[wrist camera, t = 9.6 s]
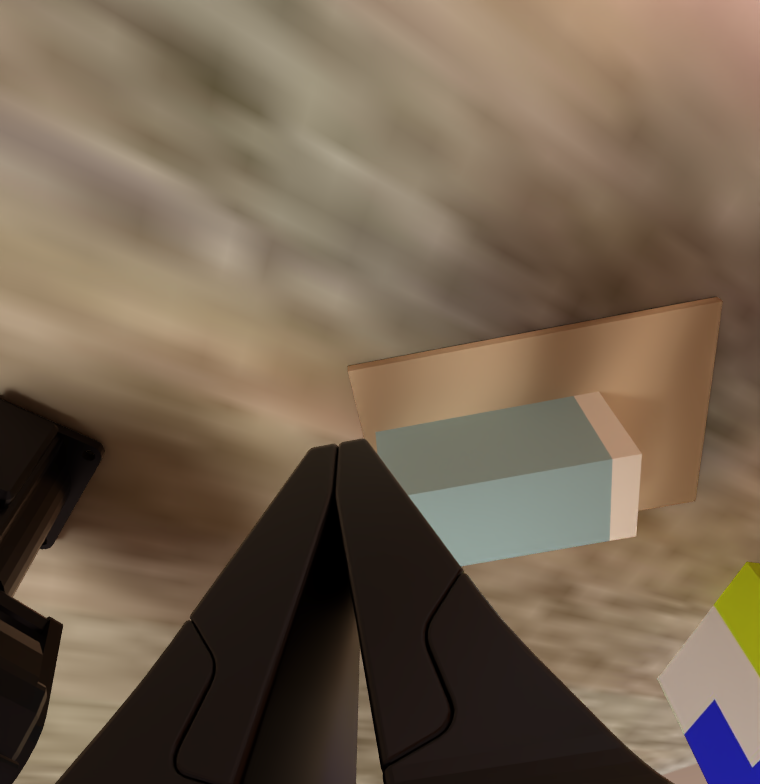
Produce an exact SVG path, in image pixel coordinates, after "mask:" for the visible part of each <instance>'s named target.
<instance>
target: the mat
mask: <svg viewBox="0 0 760 784" xmlns="http://www.w3.org/2000/svg"><path fill="white" fill-rule="evenodd" d="M722 303H723V301H722V300H721V299H719V298H718V297H713V298H708V299H702V300H697V301H692V302H687V303H681V304H676V305H671V306H665V307H660V308H655V309H649V310H644V311H639V312H633V313H628V314H623V315H617V316H612V317H607V318H601V319H596V320H591V321H585V322H580V323H575V324H569V325H564V326H559V327H553V328H548V329H543V330H537V331H532V332H527V333H521V334H516V335H511V336H505V337H500V338H495V339H489V340H484V341H479V342H474V343H468V344H463V345H458V346H452V347H447V348H442V349H436V350H431V351H426V352H420V353H415V354H410V355H404V356H399V357H394V358H388V359H383V360H378V361H372V362H367V363H362V364H356V365H351V366H348V374H349V378H350V382H351V387H352V391H353V395H354V399H355V403H356V407H357V411H358V415H359V419H360V423H361V428H362V432H363V436H364V439H366V440H367V441H368V442H369V443H370V445H371V446H372V447H373V449H374V450H375V451H376V453H377V444H376V433H375V432H379V431H385V430H390V429H396V428H401V427H406V426H412V425H417V424H423V423H428V422H434V421H439V420H445V419H450V418H456V417H461V416H467V415H472V414H478V413H483V412H489V411H494V410H500V409H505V408H511V407H516V406H522V405H527V404H533V403H538V402H544V401H549V400H554V399H560V398H565V397H571V396H576V395H582V394H587V393H593V392H598V391H599V392H600V394H601V395H602V397H603V398H604V400H605V401H606V403H607V404H608V405H609V407H610V408H611V410H612V411H613V413H614V414H615V416H616V417H617V419H618V420H619V421H620V423H621V424H622V426H623V427H624V429H625V430H626V432H627V433H628V434H629V436H630V437H631V439H632V440H633V442H634V443H635V445H636V446H637V447H638V449H639V450H640V452H641V453H642V460H641V474H640V489H639V503H638V511H641V510H646V509H652V508H658V507H664V506H669V505H675V504H681V503H687V502H693V501H695V499H696V492H697V485H698V477H699V470H700V463H701V456H702V448H703V441H704V434H705V427H706V419H707V412H708V405H709V397H710V390H711V383H712V376H713V368H714V361H715V354H716V346H717V339H718V332H719V325H720V317H721V310H722Z"/></svg>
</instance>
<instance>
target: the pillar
mask: <svg viewBox="0 0 760 784" xmlns="http://www.w3.org/2000/svg"><path fill="white" fill-rule="evenodd" d="M375 433H376V444H377V454H378V455H379V457H380V458H381V460H382V461H383V462H384V464H385V465H386V466H387V468H388V469H389V470H390V472H391V473H392V474H393V476H394V477H395V478H396V480H397V481H398V482H399V484H400V485H401V487H402V488H403V489H404V491H405V492H406V493H407V495H408V496H409V497H410V499H411V500H412V501H413V503H414V504H415V505H416V507H417V508H418V509H419V511H420V512H421V513H422V515H423V516H424V518H425V519H426V520H427V522H428V523H429V524H430V526H431V527H432V528H433V530H434V531H435V532H436V534H437V535H438V536H439V538H440V539H441V540H442V542H443V543H444V544H445V546H446V547H447V549H448V550H449V551H450V553H451V554H452V555H453V557H454V558H455V559H456V561H457V562H458V563H459V565H460V566H466V565H472V564H477V563H483V562H489V561H495V560H501V559H507V558H512V557H518V556H524V555H530V554H536V553H542V552H548V551H553V550H559V549H565V548H571V547H577V546H583V545H588V544H594V543H600V542H606V541H612V540H618V539H623V538H629V537H635V536H636V532H637V518H638V503H639V489H640V474H641V460H642V453H641V452H640V450H639V449H638V447H637V446H636V445H635V443H634V442H633V440H632V439H631V437H630V436H629V434H628V433H627V432H626V430H625V429H624V427H623V426H622V424H621V423H620V421H619V420H618V419H617V417H616V416H615V414H614V413H613V411H612V410H611V408H610V407H609V405H608V404H607V403H606V401H605V400H604V398H603V397H602V395H601V394H600V392H599V391H598V392H593V393H587V394H582V395H576V396H571V397H565V398H560V399H554V400H549V401H544V402H538V403H533V404H527V405H522V406H516V407H511V408H505V409H500V410H494V411H489V412H483V413H478V414H472V415H467V416H461V417H456V418H450V419H445V420H439V421H434V422H428V423H423V424H417V425H412V426H406V427H401V428H396V429H390V430H385V431H379V432H375Z"/></svg>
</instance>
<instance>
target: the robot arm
mask: <svg viewBox="0 0 760 784" xmlns="http://www.w3.org/2000/svg"><path fill="white" fill-rule="evenodd" d="M86 450H89V451H92V452H93V453H94V454H89V453H88V452H86ZM104 453H105V449H104V447H103V445H102V444H101V443H99V442H98V441H96V440H94V439H92V438H89V437H87V436H85V435H82V434H80V433H78V432H75V431H73V430H71V429H69V428H66V427H64V426H62V425H59V424H57V423H55V422H53V421H50V420H48V419H46V418H43V417H41V416H39V415H37V414H34V413H32V412H30V411H27V410H25V409H23V408H21V407H18V406H16V405H14V404H11V403H9V402H7V401H4V400H2V399H0V784H12V783H13V782H14V781H15V779H16V778H17V776H18V775H19V773H20V772H21V770H22V769H23V767H24V765H25V764H26V762H27V761H28V759H29V757H30V755H31V753H32V751H33V749H34V748H35V746H36V744H37V741H38V739H39V737H40V734H41V732H42V729H43V726H44V723H45V719H46V715H47V710H48V705H49V699H50V694H51V689H52V683H53V678H54V672H55V667H56V661H57V656H58V651H59V645H60V640H61V634H62V629H63V624H61V623H60V622H58V621H56V620H55V619H53V618H51V617H48V618H46V617H44V616H42V615H41V614H39V613H37V612H36V611H34V610H33V609H31V608H29V607H28V606H26V605H24V604H23V603H21V602H19V601H18V600H16V599H15V598H13V596H14V594H15V592H16V590H17V589H18V587H19V585H20V583H21V581H22V580H23V578H24V576H25V574H26V572H27V571H28V569H29V567H30V565H31V563H32V562H33V560H34V558H35V556H36V554H37V553H38V551H39V549H48V548H50V547H51V546H52V545H53V544H54V542H55V540H56V539H57V537H58V535H59V533H60V531H61V530H62V528H63V526H64V524H65V523H66V521H67V519H68V517H69V516H70V514H71V512H72V510H73V509H74V507H75V505H76V503H77V502H78V500H79V498H80V496H81V495H82V493H83V491H84V489H85V488H86V486H87V484H88V482H89V481H90V479H91V477H92V475H93V474H94V472H95V470H96V468H97V467H98V465H99V463H100V461H101V459H102V458H103V456H104ZM190 619H191V621H190V620H188V621H186V622H185V623H184V625H183V626H182V628H181V629H180V630H179V632H178V633H177V635H176V636H175V637H174V639H173V640H172V642H171V643H170V644H169V646H168V647H167V648H166V650H165V651H164V652H163V654H162V655H161V656H160V658H159V659H158V660H157V662H156V663H155V664H154V666H153V667H152V668H151V669H150V671H149V672H148V673H147V675H146V676H145V677H144V679H143V680H142V681H141V683H140V684H139V685H138V686H137V687H136V689H135V690H134V691H133V692H132V693H131V695H130V696H129V697H128V698H127V700H126V701H125V702H124V703H123V704H122V706H121V707H120V708H119V709H118V710H117V712H116V713H115V714H114V715H113V717H112V718H111V719H110V720H109V721H108V723H107V724H106V725H105V726H104V727H103V728H102V730H101V731H100V732H99V733H98V734H97V735H96V737H95V738H94V739H93V740H92V741H91V742H90V744H89V745H88V746H87V747H86V748H85V749H84V751H83V752H82V753H81V754H80V755H79V756H78V758H77V759H76V760H75V761H74V762H73V763H72V765H71V766H70V767H69V768H68V769H67V770H66V772H65V773H64V774H63V775H62V776H61V777H60V779H59V780H58V781H57V782H56V783H55V784H356V763H357V727H358V692H359V656H360V649H361V654H362V660H363V666H364V672H365V678H366V683H367V689H368V695H369V701H370V707H371V712H372V718H373V724H374V730H375V736H376V742H377V747H378V753H379V759H380V765H381V769H382V772H383V782H384V784H674V783H672V782H671V781H669V780H668V779H666V778H665V777H663V776H662V775H660V774H659V773H658V772H656V771H655V770H654V769H652V768H651V767H650V766H649V765H647V764H646V763H645V762H644V761H642V760H641V759H640V758H639V757H638V756H637V755H636V754H634V753H633V752H632V751H631V750H630V749H629V748H628V747H627V746H625V745H624V744H623V743H622V742H621V741H620V740H619V739H618V738H617V737H616V736H615V735H614V734H613V733H612V732H611V731H610V730H609V729H608V728H607V727H606V726H605V725H604V724H603V723H602V722H601V721H600V720H599V719H598V718H597V717H596V716H595V715H594V714H593V713H592V712H591V711H590V710H589V709H588V708H587V707H586V706H585V705H584V704H583V703H582V702H581V701H580V700H579V699H578V698H577V697H576V696H575V695H574V694H573V693H572V692H571V691H570V690H569V689H568V688H567V687H566V686H565V685H564V684H563V683H562V682H561V681H560V680H559V679H558V678H557V677H556V676H555V675H554V674H553V673H552V672H551V671H550V670H549V669H548V668H547V667H546V666H545V665H544V664H543V663H542V662H541V660H540V659H539V658H538V657H537V656H536V655H535V654H534V653H533V652H532V651H531V650H530V649H529V648H528V647H527V646H526V645H525V644H524V643H523V642H522V641H521V639H520V638H519V637H518V636H517V635H516V634H515V633H514V632H513V631H512V630H511V629H510V628H509V627H508V625H507V624H506V623H505V622H504V621H503V620H502V619H501V617H500V616H499V615H498V614H497V612H496V611H495V610H494V609H493V607H492V606H491V605H490V604H489V602H488V601H487V600H486V599H485V597H484V596H483V595H482V594H481V592H480V591H479V590H478V588H477V587H476V586H475V584H474V583H473V582H472V580H471V579H470V578H469V576H468V575H467V574H465V573H464V570H463V569H462V567H461V566H460V565H459V563H458V562H457V561H456V559H455V558H454V557H453V555H452V554H451V553H450V551H449V550H448V549H447V547H446V546H445V544H444V543H443V542H442V540H441V539H440V538H439V536H438V535H437V534H436V532H435V531H434V530H433V528H432V527H431V526H430V524H429V523H428V522H427V520H426V519H425V518H424V516H423V515H422V513H421V512H420V511H419V509H418V508H417V507H416V505H415V504H414V503H413V501H412V500H411V499H410V497H409V496H408V495H407V493H406V492H405V491H404V489H403V488H402V487H401V485H400V484H399V482H398V481H397V480H396V478H395V477H394V476H393V474H392V473H391V472H390V470H389V469H388V468H387V466H386V465H385V464H384V462H383V461H382V460H381V458H380V457H379V455H378V454H377V453H376V451H375V450H374V449H373V447H372V446H371V445H370V443H369V442H368V441H367V440H366V439H357V440H352V441H346V442H342V443H341V444H340V445H339V447H338V446H337V445H336V444H330V445H324V446H319V447H314V448H311V449H310V450H309V451H308V452H307V454H306V455H305V456H304V458H303V459H302V461H301V462H300V463H299V465H298V466H297V468H296V469H295V470H294V472H293V473H292V474H291V476H290V477H289V479H288V480H287V481H286V483H285V484H284V486H283V487H282V488H281V490H280V491H279V493H278V494H277V495H276V497H275V498H274V500H273V501H272V502H271V504H270V505H269V507H268V508H267V509H266V511H265V512H264V514H263V515H262V516H261V518H260V519H259V521H258V522H257V523H256V525H255V526H254V528H253V529H252V530H251V532H250V533H249V534H248V536H247V537H246V539H245V540H244V541H243V543H242V544H241V546H240V547H239V548H238V550H237V551H236V553H235V554H234V555H233V557H232V558H231V560H230V561H229V562H228V564H227V565H226V567H225V568H224V569H223V571H222V572H221V574H220V575H219V576H218V578H217V579H216V581H215V582H214V583H213V585H212V586H211V587H210V589H209V590H208V592H207V593H206V594H205V596H204V597H203V599H202V600H201V601H200V603H199V604H198V606H197V607H196V608H195V610H194V611H193V613H192V614H191V616H190Z"/></svg>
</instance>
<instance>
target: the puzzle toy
mask: <svg viewBox="0 0 760 784" xmlns="http://www.w3.org/2000/svg"><path fill="white" fill-rule="evenodd" d="M658 681H659V683H660V686H661V688H662V690H663V692H664V694H665V696H666V698H667V700H668V702H669V704H670V706H671V708H672V710H673V712H674V715H675V717H676V719H677V721H678V723H679V725H680V727H681V729H682V731H683V733H684V735H685V737H686V739H687V742H688V744H689V746H690V748H691V750H692V752H693V754H694V756H695V758H696V760H697V762H698V764H699V766H700V768H701V770H702V772H703V775H704V777H705V779H706V781H707V783H708V784H760V563H752V562H746V563H745V565H744V566H743V567H742V569H741V570H740V571H739V572H738V574H737V575H736V576H735V578H734V579H733V580H732V582H731V583H730V584H729V586H728V587H727V588H726V589H725V591H724V592H723V593H722V595H721V596H720V597H719V599H718V600H717V601H716V603H715V604H714V605H713V607H712V608H711V609H710V610H709V612H708V613H707V614H706V616H705V617H704V618H703V620H702V621H701V622H700V624H699V625H698V626H697V627H696V629H695V630H694V631H693V633H692V634H691V635H690V637H689V638H688V639H687V641H686V642H685V643H684V645H683V646H682V647H681V648H680V650H679V651H678V652H677V654H676V655H675V656H674V658H673V659H672V660H671V662H670V663H669V664H668V665H667V667H666V668H665V669H664V671H663V672H662V673H661V675H660V676H659V677H658Z"/></svg>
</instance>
